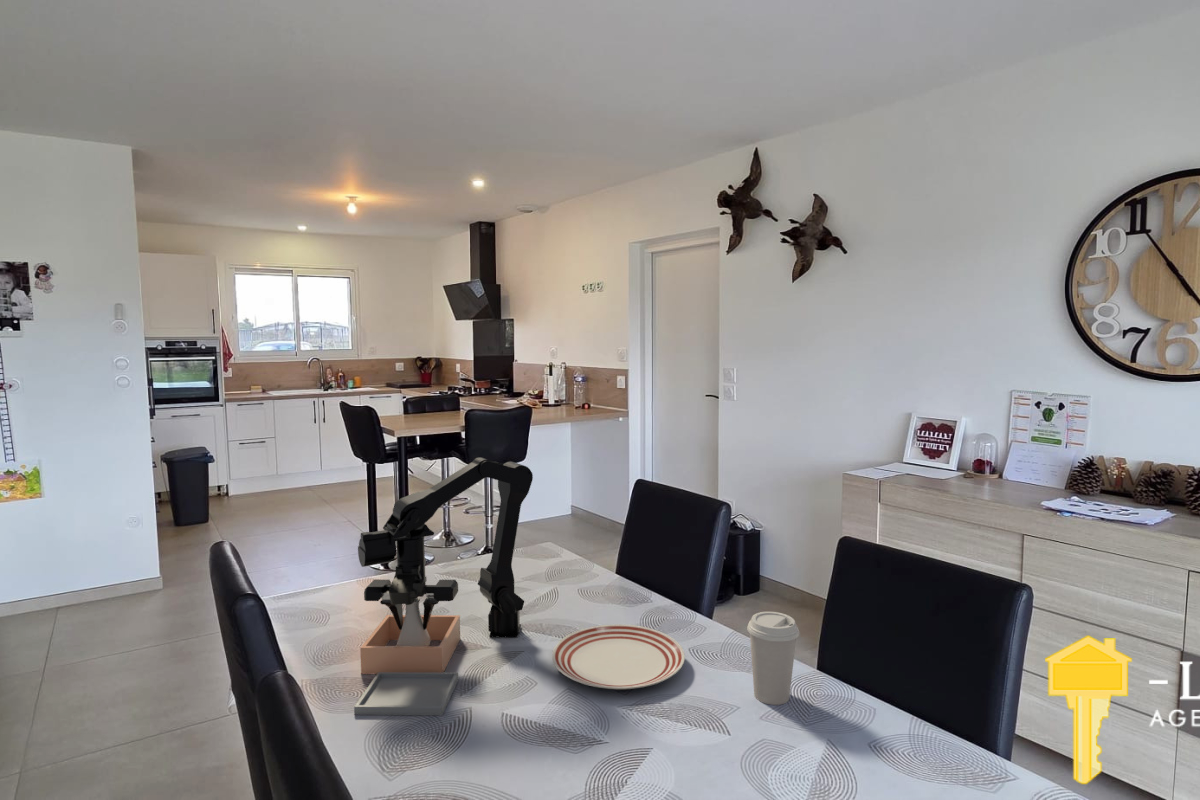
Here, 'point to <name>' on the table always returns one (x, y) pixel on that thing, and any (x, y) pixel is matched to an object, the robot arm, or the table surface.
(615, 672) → the dinner plate
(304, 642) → the table surface
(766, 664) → the coffee cup
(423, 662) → the terracotta box
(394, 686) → the grey tray
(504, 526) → the robot arm
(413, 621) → the flask
